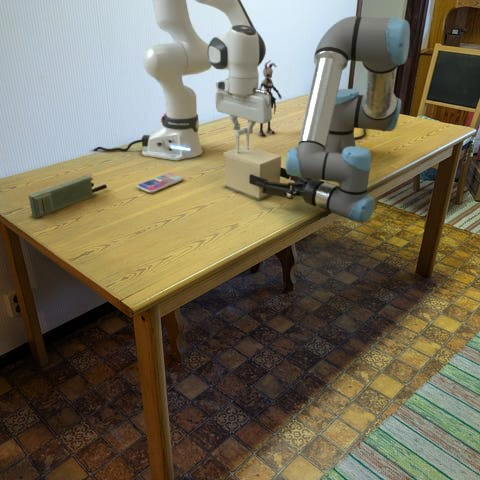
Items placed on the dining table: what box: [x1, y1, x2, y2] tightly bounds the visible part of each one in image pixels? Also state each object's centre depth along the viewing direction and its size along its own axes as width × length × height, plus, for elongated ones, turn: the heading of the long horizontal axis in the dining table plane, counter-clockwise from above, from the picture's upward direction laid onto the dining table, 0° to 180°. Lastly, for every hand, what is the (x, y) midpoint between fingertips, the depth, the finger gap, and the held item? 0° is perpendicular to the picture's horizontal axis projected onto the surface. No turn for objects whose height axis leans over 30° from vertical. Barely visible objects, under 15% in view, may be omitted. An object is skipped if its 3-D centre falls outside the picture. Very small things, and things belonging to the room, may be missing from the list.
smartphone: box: [136, 172, 184, 194], centre depth 164 cm, size 7×1×15 cm
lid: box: [223, 127, 282, 168], centre depth 155 cm, size 15×10×8 cm
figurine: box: [258, 59, 283, 137], centre depth 204 cm, size 15×6×30 cm, turn 132°
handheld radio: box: [28, 173, 108, 219], centre depth 150 cm, size 7×3×25 cm
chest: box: [224, 156, 282, 201], centre depth 159 cm, size 14×10×10 cm
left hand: (242, 131), depth 156 cm, fingers open, 4 cm apart
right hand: (261, 173), depth 157 cm, fingers closed on chest, 10 cm apart
